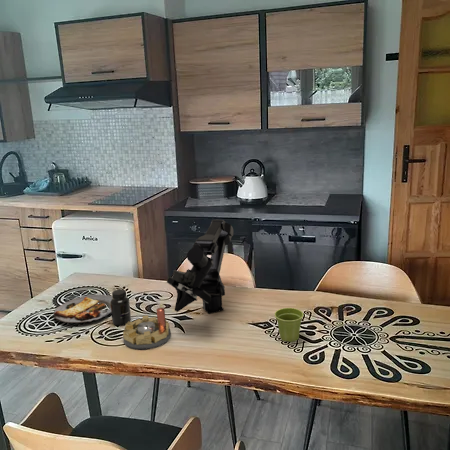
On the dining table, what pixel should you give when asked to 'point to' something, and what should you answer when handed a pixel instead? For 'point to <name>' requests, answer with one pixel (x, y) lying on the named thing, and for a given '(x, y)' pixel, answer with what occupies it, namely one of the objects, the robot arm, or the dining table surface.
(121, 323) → the supplement bottle
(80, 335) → the dining table surface
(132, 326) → the handwheel
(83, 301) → the food plate
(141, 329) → the flange
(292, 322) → the plant pot
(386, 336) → the dining table surface
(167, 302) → the dining table surface
